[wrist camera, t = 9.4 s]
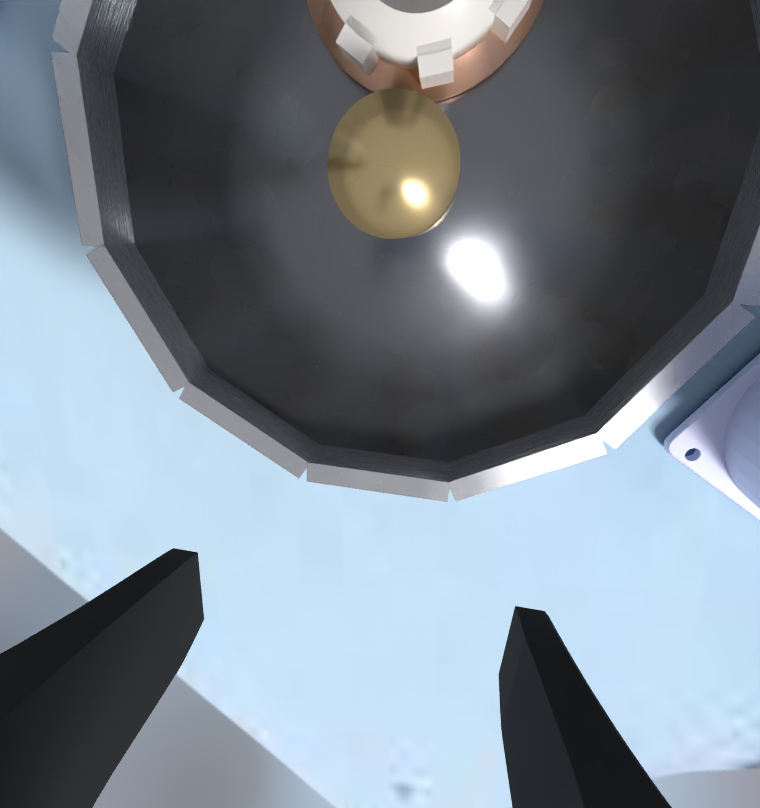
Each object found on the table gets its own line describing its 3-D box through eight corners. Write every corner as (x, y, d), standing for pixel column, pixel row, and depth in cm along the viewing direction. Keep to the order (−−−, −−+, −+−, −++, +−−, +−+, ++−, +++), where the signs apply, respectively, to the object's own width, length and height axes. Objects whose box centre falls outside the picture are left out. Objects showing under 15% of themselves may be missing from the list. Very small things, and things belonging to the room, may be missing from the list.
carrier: (930, 70, 12) (1215, -26, 8) (463, 539, 20) (466, 631, 15) (310, -483, 11) (199, -1041, 6) (58, 265, 18) (-75, 277, 14)
